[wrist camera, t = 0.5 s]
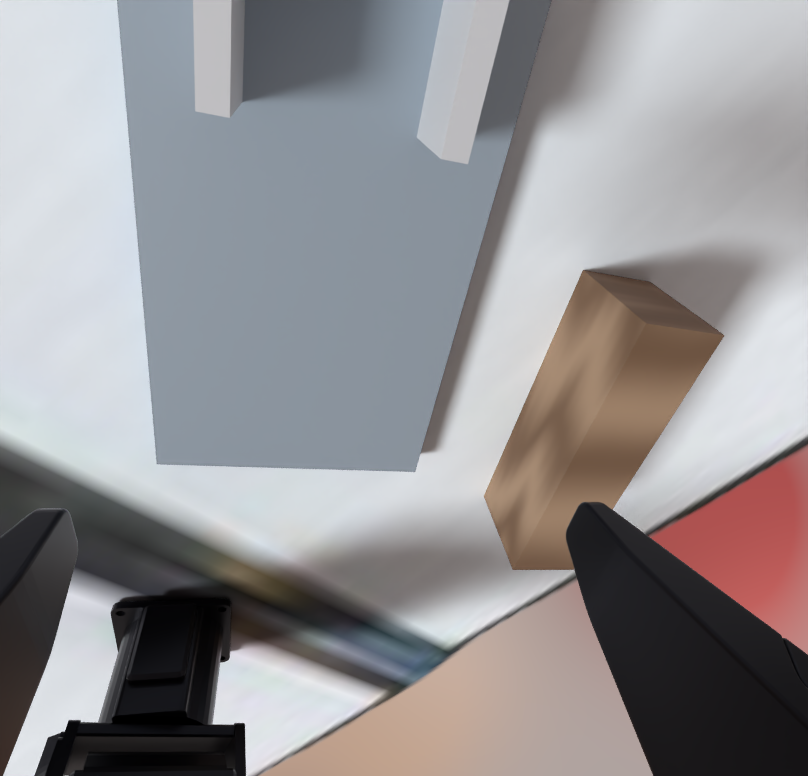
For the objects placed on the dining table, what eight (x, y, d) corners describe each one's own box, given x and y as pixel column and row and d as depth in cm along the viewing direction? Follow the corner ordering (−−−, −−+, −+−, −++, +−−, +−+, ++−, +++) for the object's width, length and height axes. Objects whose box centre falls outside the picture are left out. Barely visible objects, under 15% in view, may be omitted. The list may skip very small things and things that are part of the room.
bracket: (411, 458, 26) (429, 526, 23) (161, 449, 23) (136, 526, 20) (546, -24, 16) (620, -40, 12) (115, -156, 13) (41, -231, 9)
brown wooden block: (537, 498, 30) (573, 569, 26) (483, 495, 29) (513, 569, 25) (649, 282, 23) (724, 335, 19) (583, 270, 22) (646, 323, 18)
